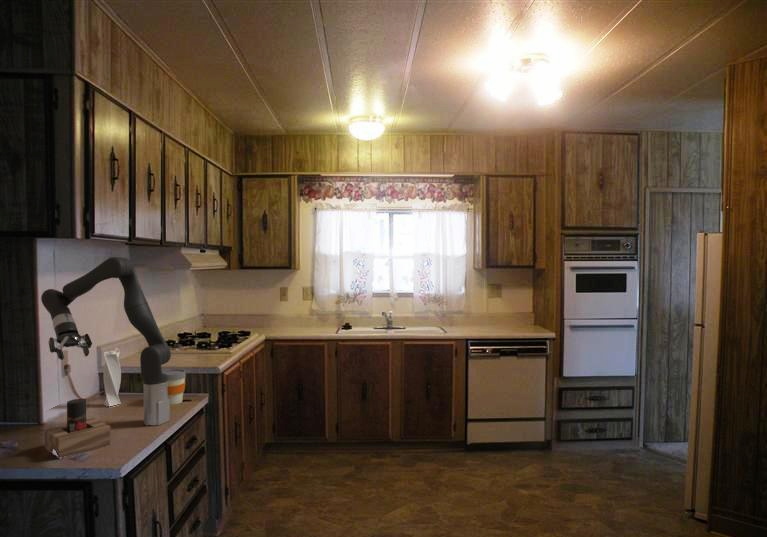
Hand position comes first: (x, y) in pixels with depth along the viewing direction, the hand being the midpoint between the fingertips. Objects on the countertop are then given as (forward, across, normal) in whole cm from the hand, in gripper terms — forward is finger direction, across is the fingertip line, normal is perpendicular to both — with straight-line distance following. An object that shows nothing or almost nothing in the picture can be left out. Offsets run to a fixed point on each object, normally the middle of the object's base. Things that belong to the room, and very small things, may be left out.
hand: (74, 356), depth 179 cm
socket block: (+35, -5, +8) cm, 36 cm away
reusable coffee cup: (+16, +44, +28) cm, 55 cm away
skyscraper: (+2, +24, +42) cm, 48 cm away
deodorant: (+33, -5, +8) cm, 35 cm away
